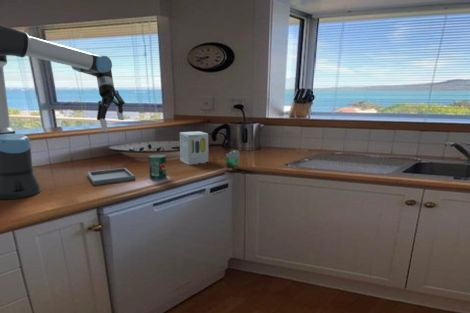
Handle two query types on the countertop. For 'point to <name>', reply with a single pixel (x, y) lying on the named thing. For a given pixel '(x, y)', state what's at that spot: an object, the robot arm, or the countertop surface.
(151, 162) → the canned tomato
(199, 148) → the supplement box
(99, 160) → the countertop surface
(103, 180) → the tray
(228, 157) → the food container
